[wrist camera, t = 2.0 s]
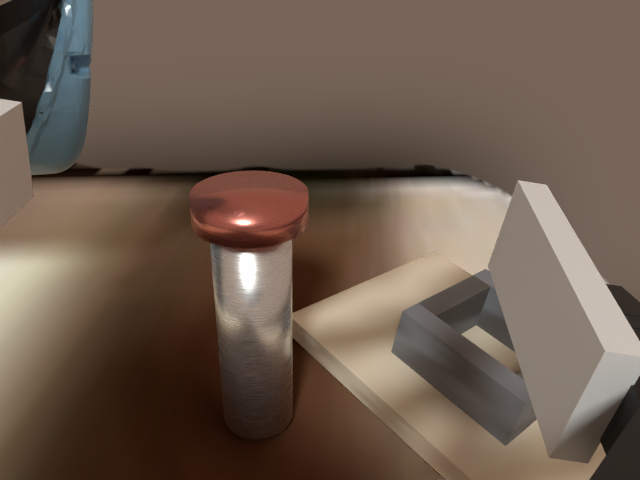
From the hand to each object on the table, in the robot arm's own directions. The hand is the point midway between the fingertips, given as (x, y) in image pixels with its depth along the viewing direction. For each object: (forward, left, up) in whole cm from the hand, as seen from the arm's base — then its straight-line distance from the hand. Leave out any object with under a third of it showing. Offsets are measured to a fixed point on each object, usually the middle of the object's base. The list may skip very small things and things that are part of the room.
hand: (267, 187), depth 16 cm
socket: (-1, +21, -20) cm, 29 cm away
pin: (-7, +7, -20) cm, 22 cm away
